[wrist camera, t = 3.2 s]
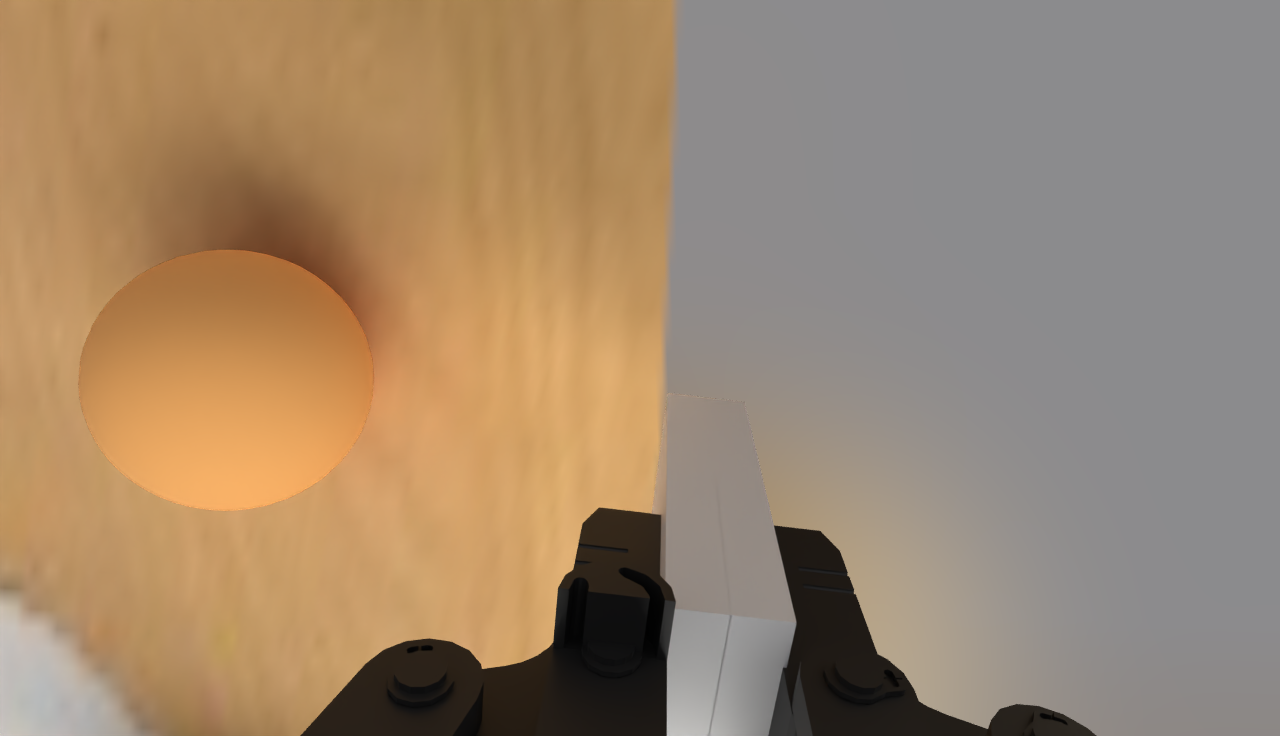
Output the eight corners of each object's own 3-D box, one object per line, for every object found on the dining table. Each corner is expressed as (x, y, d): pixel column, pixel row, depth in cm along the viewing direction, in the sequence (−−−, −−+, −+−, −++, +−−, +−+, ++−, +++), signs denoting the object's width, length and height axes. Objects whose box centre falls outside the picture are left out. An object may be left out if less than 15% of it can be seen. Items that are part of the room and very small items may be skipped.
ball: (193, 428, 20) (29, 548, 15) (173, 215, 18) (-24, 266, 13) (405, 452, 20) (316, 578, 15) (407, 242, 18) (306, 304, 13)
